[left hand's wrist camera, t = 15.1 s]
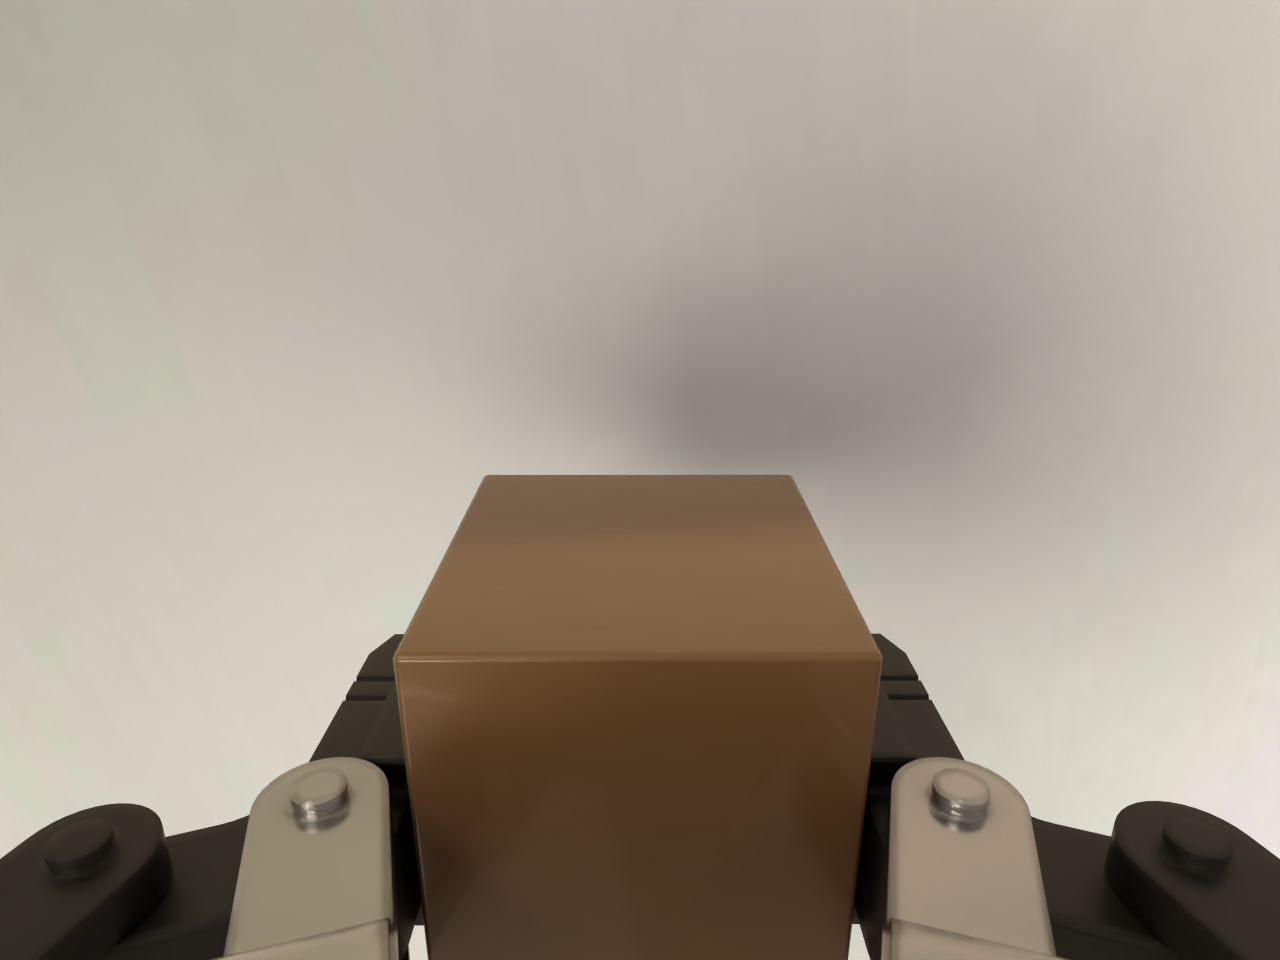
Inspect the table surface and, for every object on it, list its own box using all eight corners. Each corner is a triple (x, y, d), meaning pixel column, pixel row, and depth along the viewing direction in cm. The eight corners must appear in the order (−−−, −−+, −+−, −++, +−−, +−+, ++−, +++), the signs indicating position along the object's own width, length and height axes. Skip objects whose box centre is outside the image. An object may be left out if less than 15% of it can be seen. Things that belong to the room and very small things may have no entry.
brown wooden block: (483, 473, 12) (389, 656, 7) (792, 472, 12) (885, 654, 7) (503, 771, 14) (437, 1063, 9) (772, 770, 14) (838, 1062, 9)
